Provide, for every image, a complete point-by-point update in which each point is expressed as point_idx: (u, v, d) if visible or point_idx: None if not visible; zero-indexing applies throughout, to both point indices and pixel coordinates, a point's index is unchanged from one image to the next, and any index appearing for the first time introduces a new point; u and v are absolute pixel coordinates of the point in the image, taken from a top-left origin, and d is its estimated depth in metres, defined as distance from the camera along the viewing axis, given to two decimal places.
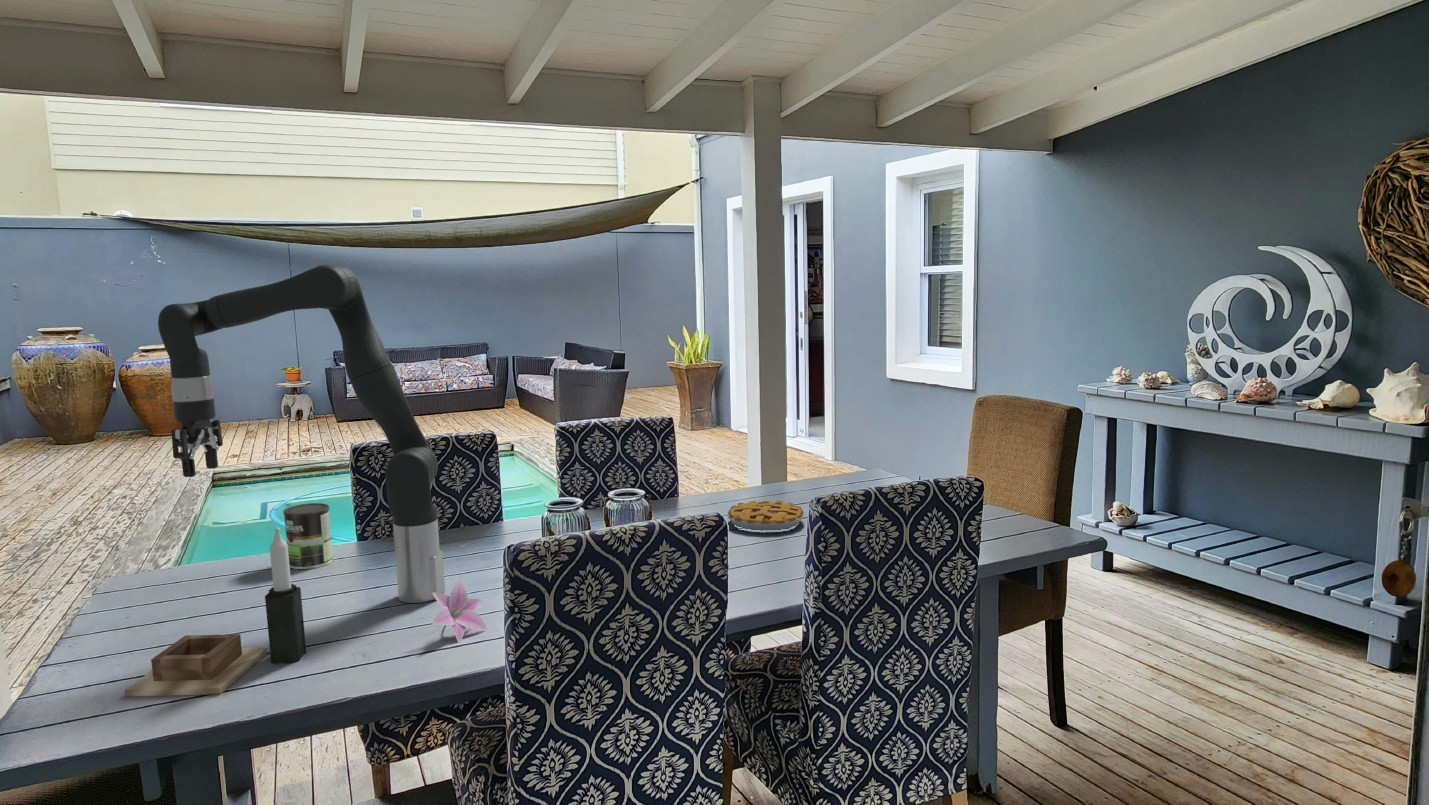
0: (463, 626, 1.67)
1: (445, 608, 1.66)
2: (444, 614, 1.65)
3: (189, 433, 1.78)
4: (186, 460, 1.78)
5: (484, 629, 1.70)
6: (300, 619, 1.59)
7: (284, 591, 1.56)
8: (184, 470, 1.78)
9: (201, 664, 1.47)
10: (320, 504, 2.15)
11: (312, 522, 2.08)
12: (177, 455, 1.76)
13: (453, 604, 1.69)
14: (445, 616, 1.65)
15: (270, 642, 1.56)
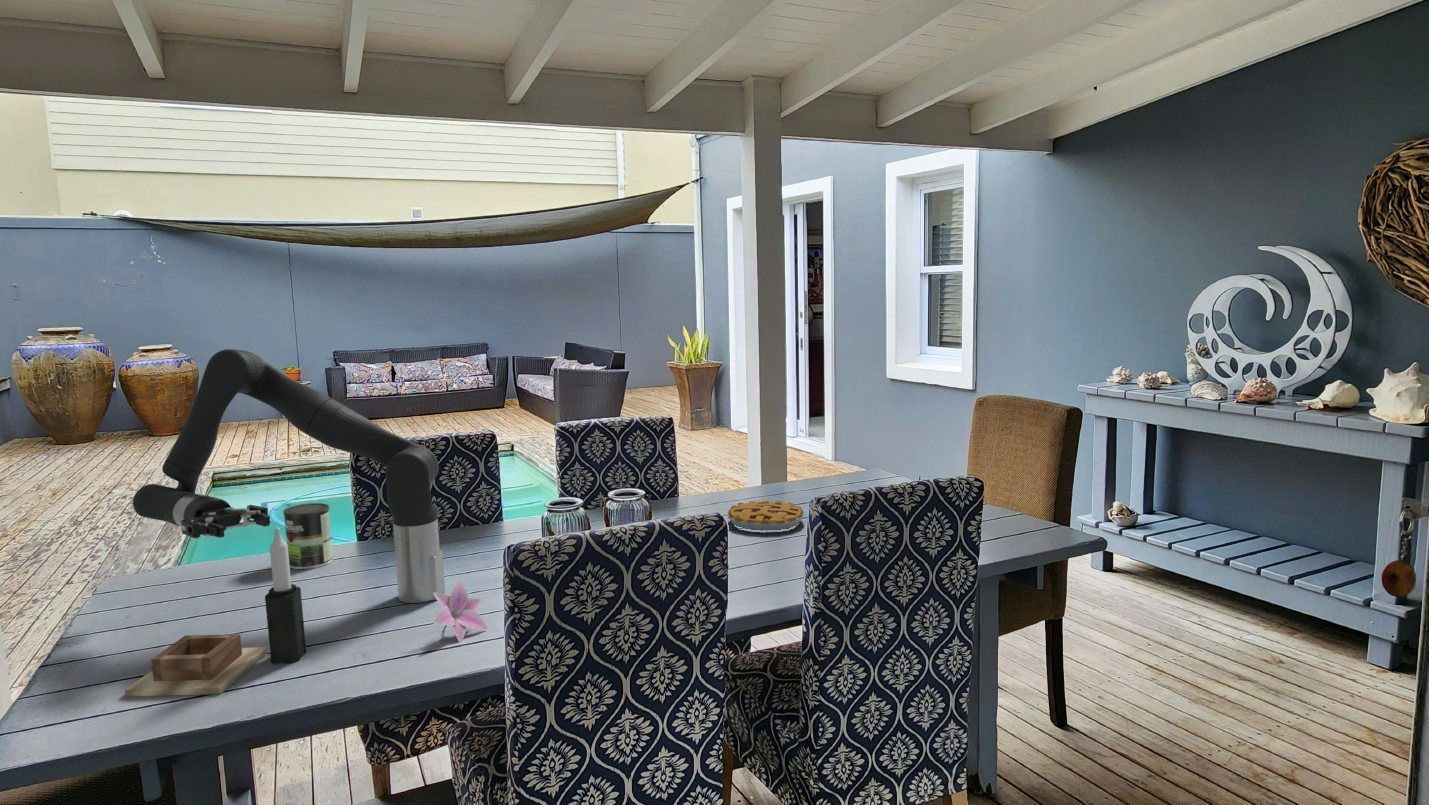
0: (464, 626, 1.67)
1: (446, 608, 1.66)
2: (445, 614, 1.65)
3: (198, 520, 1.64)
4: (205, 528, 1.59)
5: (485, 629, 1.70)
6: (300, 619, 1.59)
7: (284, 591, 1.56)
8: (212, 533, 1.58)
9: (201, 664, 1.47)
10: (320, 504, 2.15)
11: (312, 522, 2.08)
12: (192, 533, 1.59)
13: (454, 604, 1.69)
14: (446, 616, 1.65)
15: (270, 642, 1.56)
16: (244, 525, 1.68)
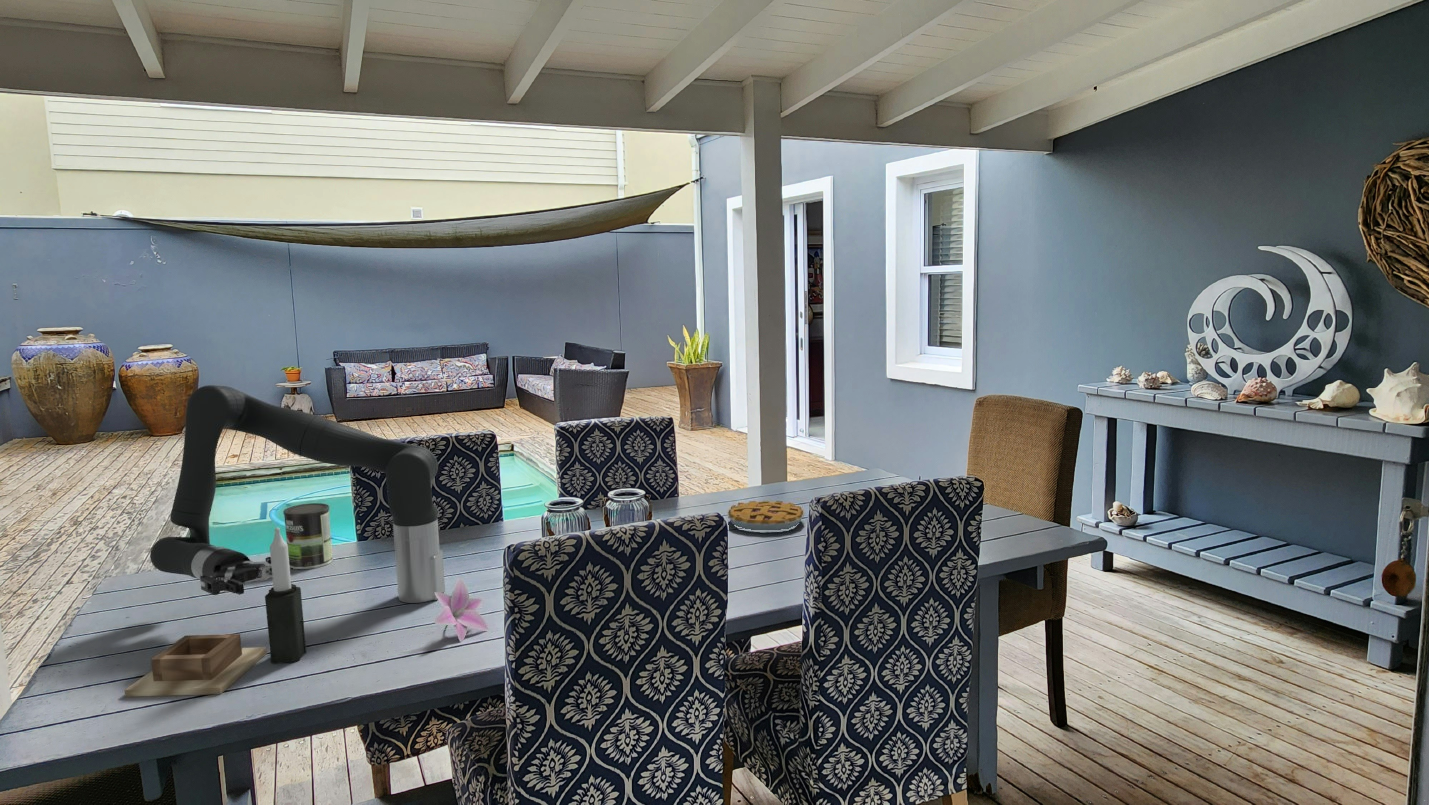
0: (465, 626, 1.67)
1: (447, 608, 1.66)
2: (446, 614, 1.65)
3: (217, 575, 1.62)
4: (225, 585, 1.58)
5: (486, 629, 1.70)
6: (300, 619, 1.59)
7: (284, 591, 1.56)
8: (232, 590, 1.57)
9: (201, 664, 1.47)
10: (320, 504, 2.15)
11: (313, 522, 2.08)
12: (212, 590, 1.58)
13: (455, 604, 1.69)
14: (448, 616, 1.65)
15: (270, 642, 1.56)
16: (263, 578, 1.66)
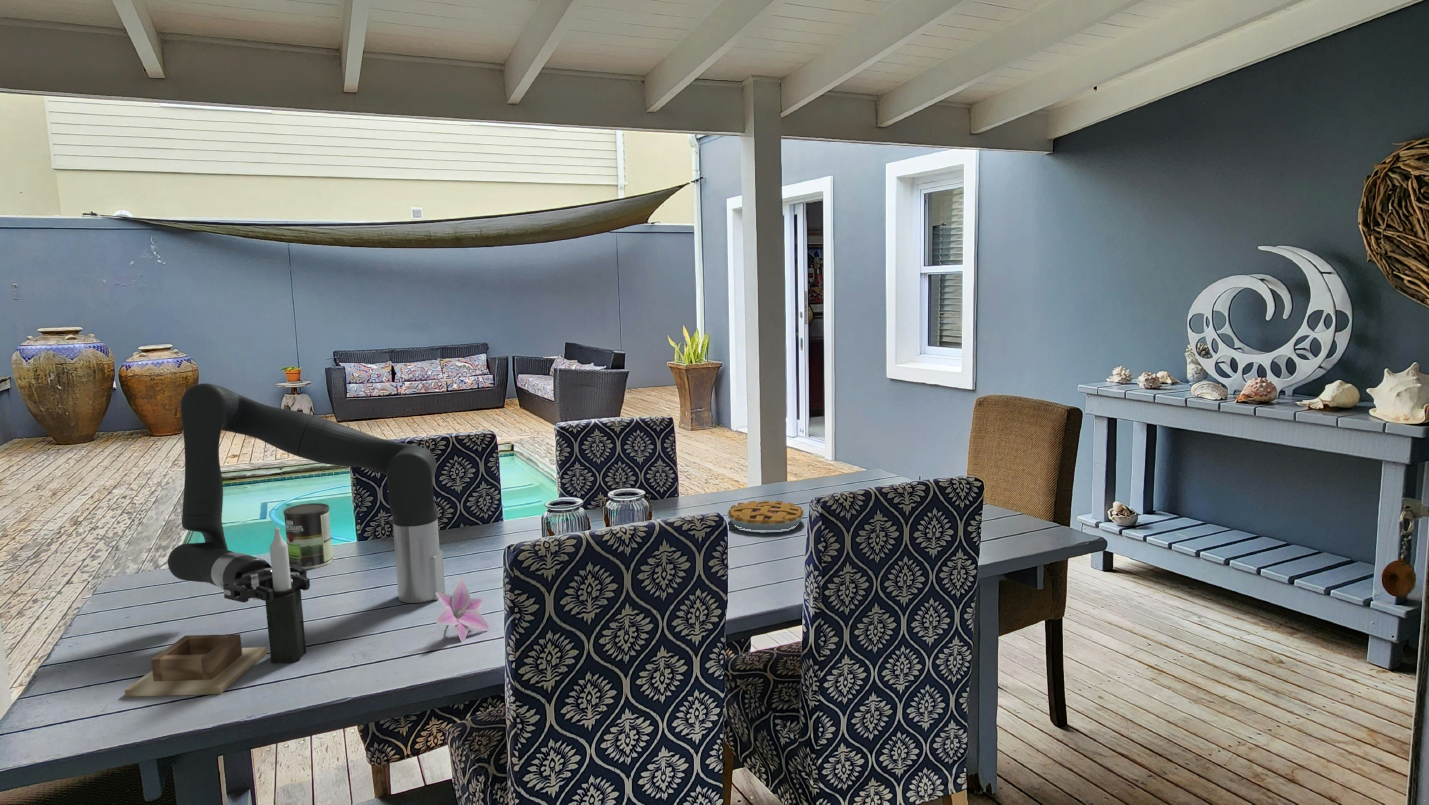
0: (466, 626, 1.67)
1: (448, 608, 1.66)
2: (447, 614, 1.65)
3: (240, 583, 1.58)
4: (254, 592, 1.54)
5: (487, 629, 1.70)
6: (300, 619, 1.59)
7: (284, 591, 1.56)
8: (261, 598, 1.53)
9: (201, 664, 1.47)
10: (320, 504, 2.15)
11: (313, 522, 2.08)
12: (241, 597, 1.54)
13: (456, 604, 1.69)
14: (449, 616, 1.65)
15: (270, 642, 1.56)
16: None
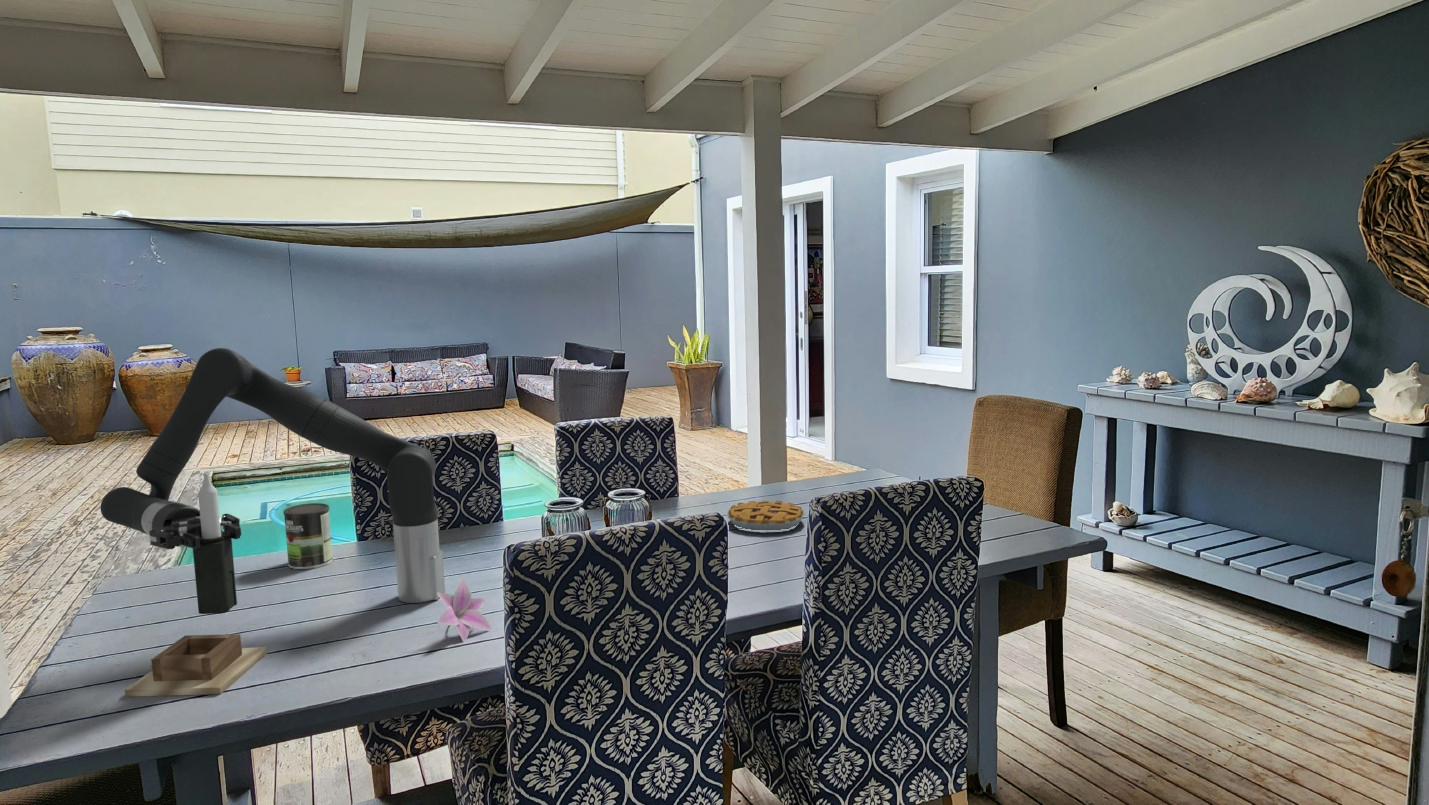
0: (468, 626, 1.67)
1: (450, 608, 1.66)
2: (449, 614, 1.65)
3: (168, 530, 1.52)
4: (180, 539, 1.48)
5: (489, 629, 1.70)
6: (230, 569, 1.53)
7: (212, 539, 1.50)
8: (187, 545, 1.47)
9: (201, 664, 1.47)
10: (320, 504, 2.15)
11: (312, 522, 2.08)
12: (166, 544, 1.48)
13: (458, 604, 1.69)
14: (450, 616, 1.65)
15: (197, 591, 1.50)
16: None
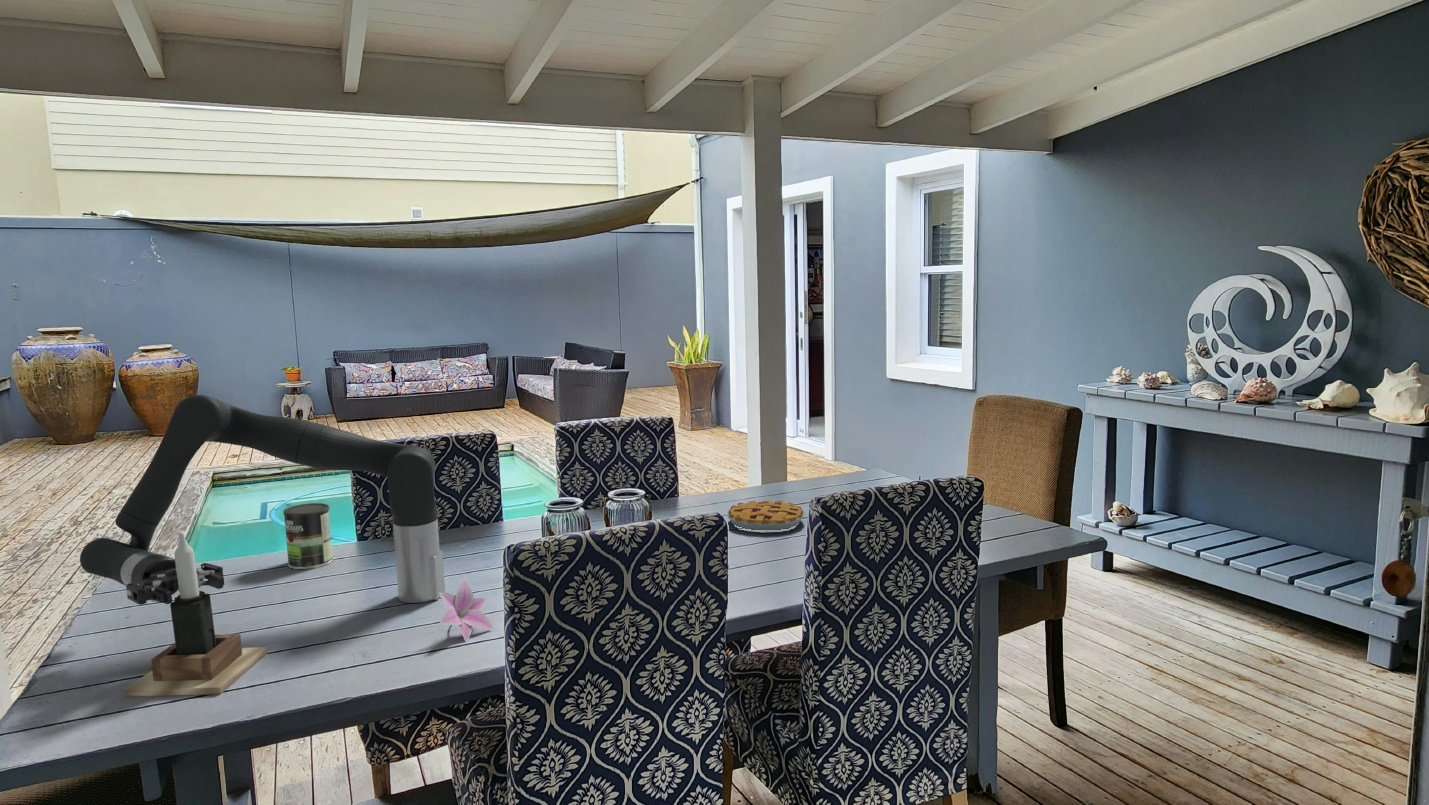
0: (470, 626, 1.67)
1: (452, 608, 1.66)
2: (451, 614, 1.65)
3: (145, 583, 1.51)
4: (152, 594, 1.47)
5: (491, 629, 1.70)
6: (209, 627, 1.52)
7: (190, 599, 1.49)
8: (159, 600, 1.46)
9: (201, 664, 1.47)
10: (320, 504, 2.15)
11: (313, 522, 2.08)
12: (138, 599, 1.47)
13: (460, 604, 1.69)
14: (453, 616, 1.65)
15: (177, 652, 1.50)
16: None
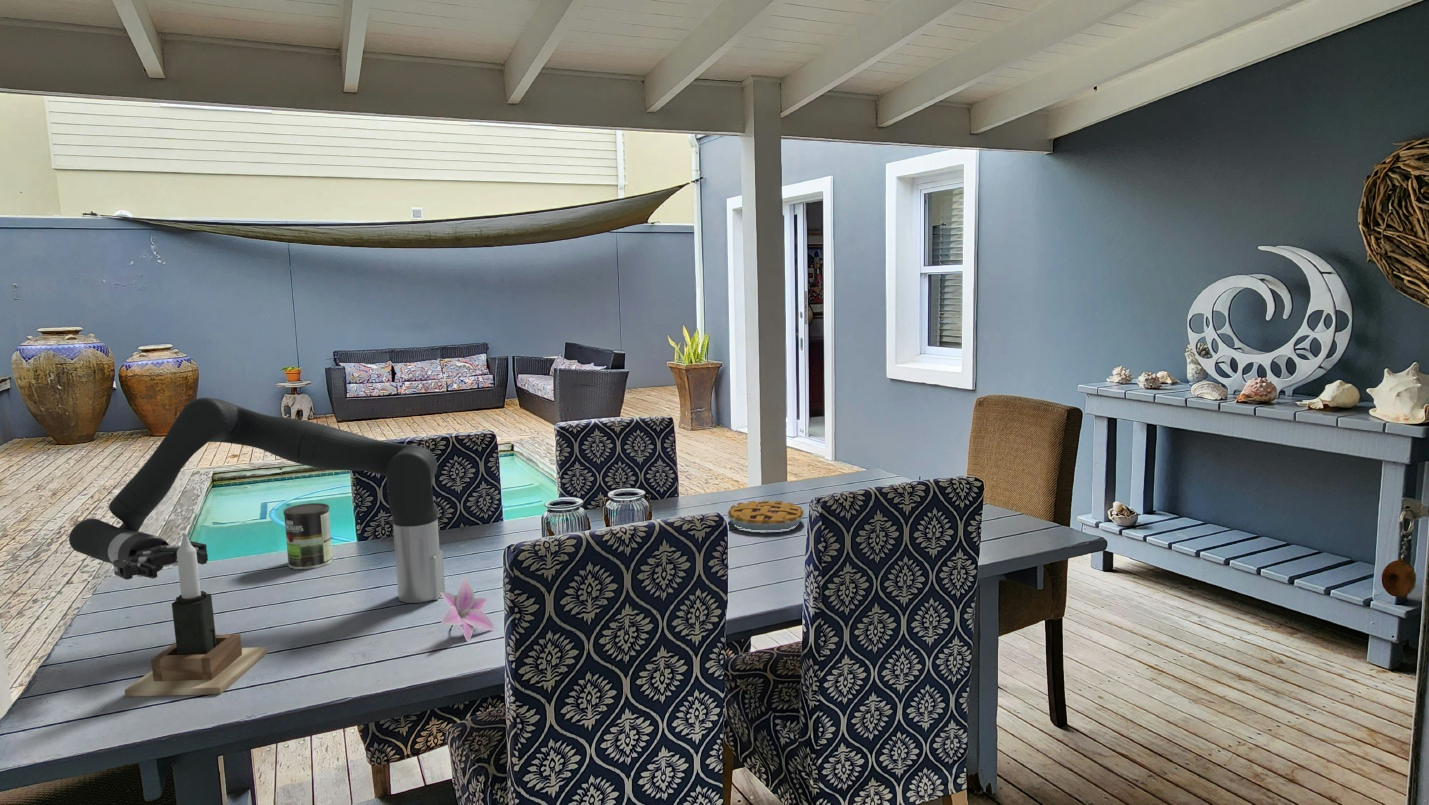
0: (471, 625, 1.67)
1: (453, 608, 1.66)
2: (452, 614, 1.65)
3: (132, 560, 1.57)
4: (137, 569, 1.53)
5: (492, 628, 1.70)
6: (210, 627, 1.52)
7: (192, 598, 1.49)
8: (144, 574, 1.52)
9: (201, 664, 1.47)
10: (320, 504, 2.15)
11: (313, 522, 2.08)
12: (124, 574, 1.53)
13: (461, 604, 1.69)
14: (454, 616, 1.65)
15: (178, 651, 1.50)
16: None
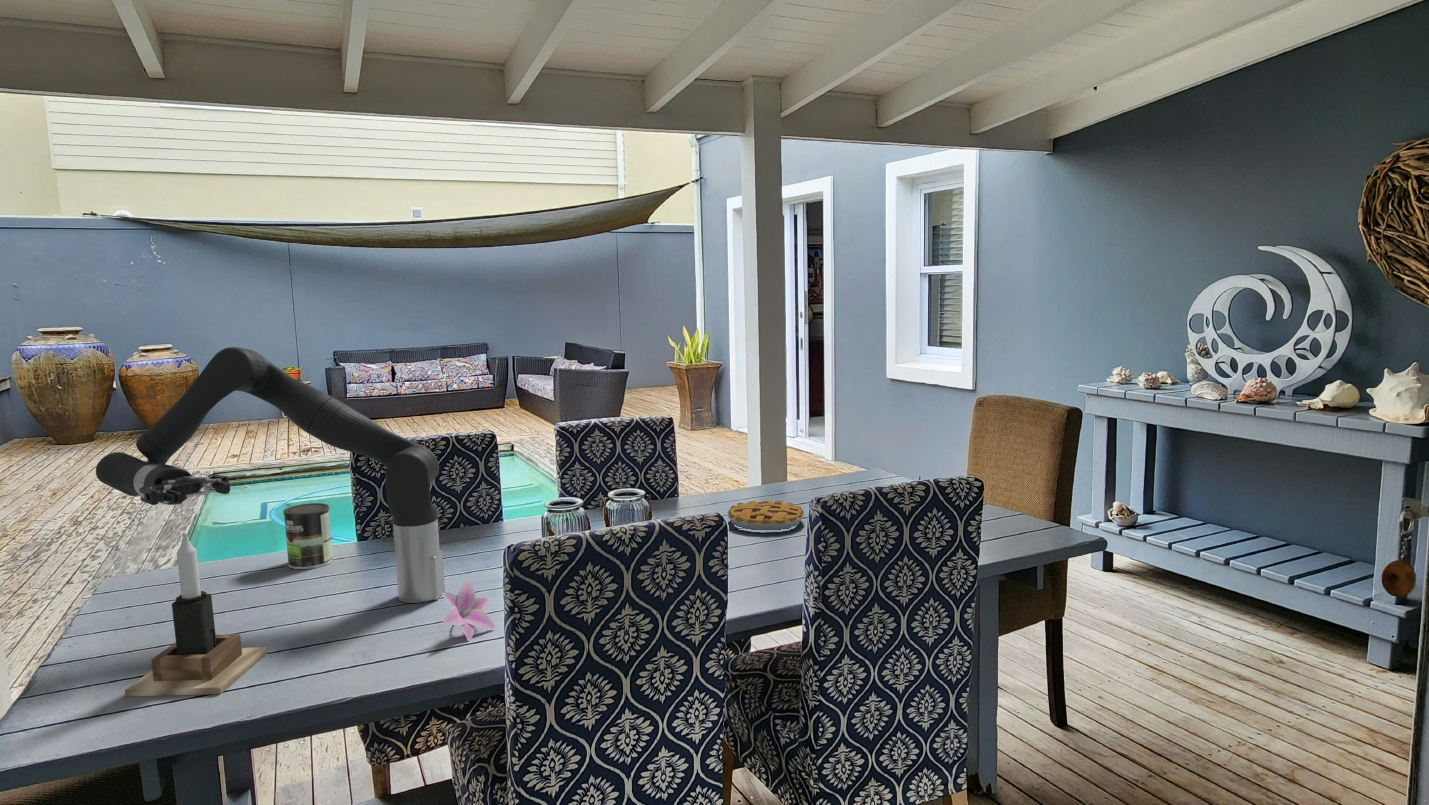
0: (472, 625, 1.67)
1: (454, 608, 1.66)
2: (454, 614, 1.65)
3: (157, 488, 1.63)
4: (163, 495, 1.59)
5: (493, 628, 1.70)
6: (210, 627, 1.52)
7: (192, 598, 1.49)
8: (170, 500, 1.58)
9: (201, 664, 1.47)
10: (320, 504, 2.15)
11: (312, 522, 2.08)
12: (150, 500, 1.58)
13: (462, 604, 1.69)
14: (455, 615, 1.65)
15: (178, 651, 1.50)
16: (205, 493, 1.67)
